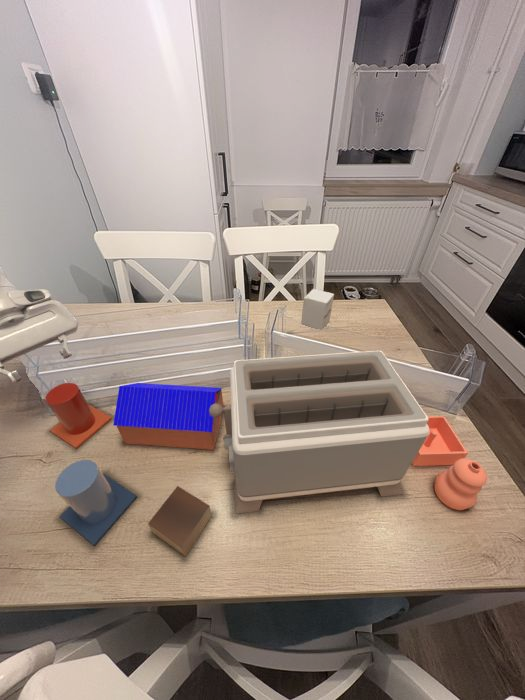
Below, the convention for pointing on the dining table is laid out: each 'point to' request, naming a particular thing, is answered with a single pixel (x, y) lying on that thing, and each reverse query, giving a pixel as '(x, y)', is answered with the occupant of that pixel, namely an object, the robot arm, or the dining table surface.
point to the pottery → (462, 476)
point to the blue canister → (86, 491)
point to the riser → (180, 520)
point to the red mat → (81, 438)
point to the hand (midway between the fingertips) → (44, 368)
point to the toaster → (319, 426)
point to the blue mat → (100, 529)
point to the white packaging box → (317, 309)
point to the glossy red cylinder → (70, 408)
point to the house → (168, 415)
